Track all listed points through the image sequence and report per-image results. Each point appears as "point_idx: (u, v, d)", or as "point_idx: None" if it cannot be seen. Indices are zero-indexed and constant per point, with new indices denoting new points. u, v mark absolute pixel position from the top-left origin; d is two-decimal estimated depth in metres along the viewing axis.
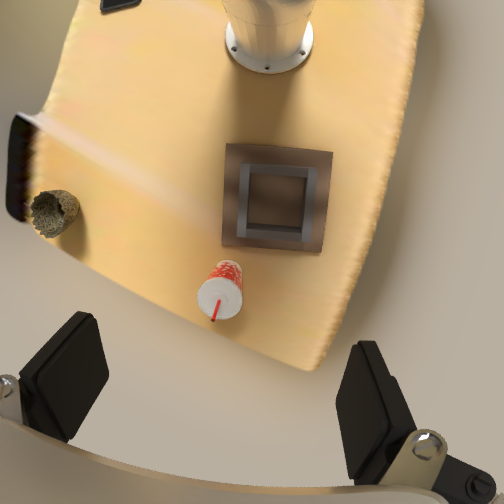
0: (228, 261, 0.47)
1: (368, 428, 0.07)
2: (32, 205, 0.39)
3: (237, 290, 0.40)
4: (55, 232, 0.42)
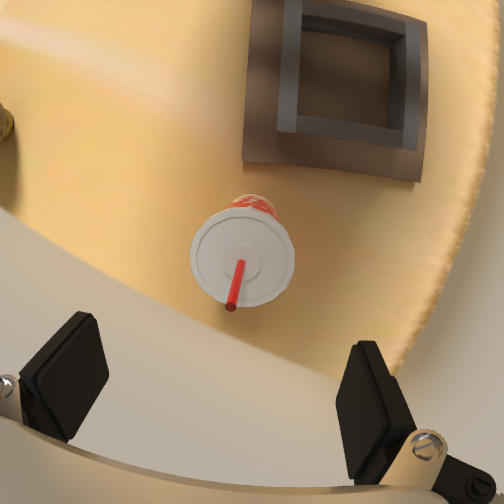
0: (253, 195, 0.24)
1: (368, 428, 0.07)
2: None
3: (285, 236, 0.17)
4: None
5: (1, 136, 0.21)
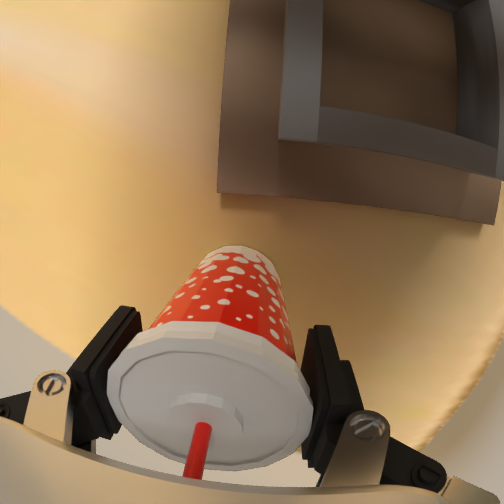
0: (237, 251, 0.14)
1: (314, 407, 0.08)
2: None
3: (295, 388, 0.07)
4: None
5: None
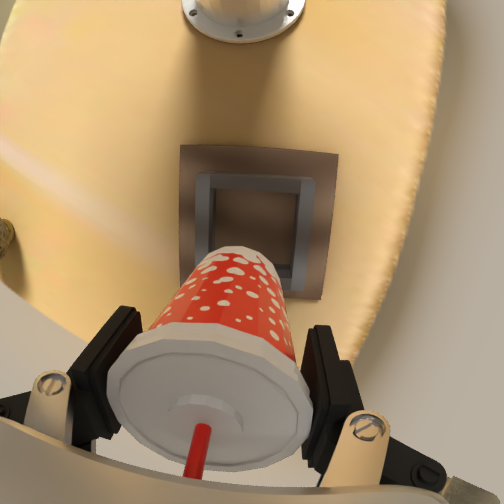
0: (237, 252, 0.14)
1: (314, 407, 0.08)
2: None
3: (295, 390, 0.07)
4: None
5: (7, 247, 0.31)
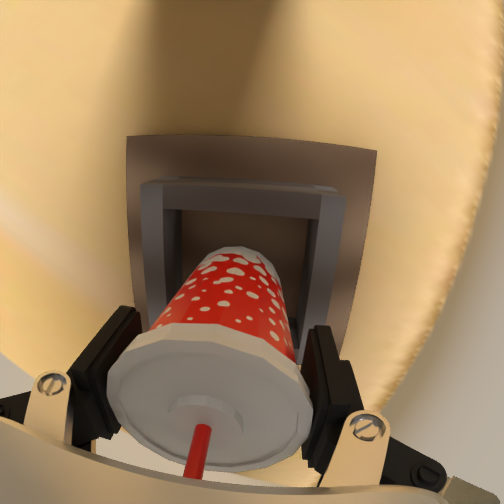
0: (237, 252, 0.14)
1: (314, 407, 0.08)
2: None
3: (295, 390, 0.07)
4: None
5: None
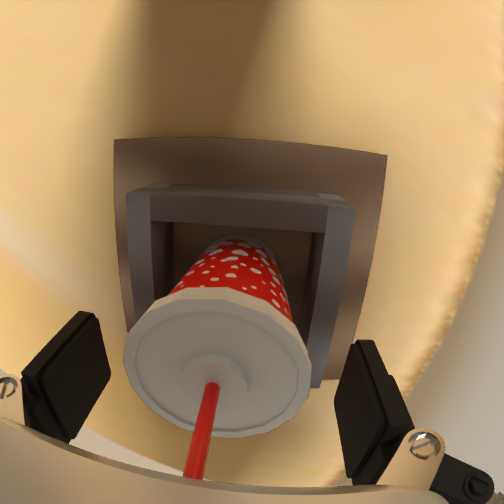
0: (240, 238, 0.16)
1: (366, 427, 0.07)
2: None
3: (295, 347, 0.08)
4: None
5: None
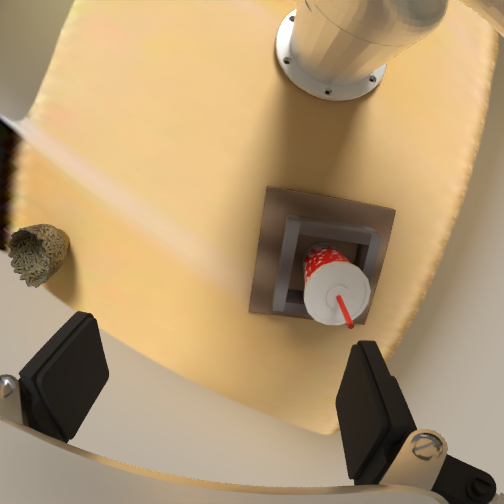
0: (328, 244, 0.33)
1: (368, 428, 0.07)
2: (9, 242, 0.29)
3: (367, 282, 0.26)
4: (39, 278, 0.32)
5: (64, 259, 0.35)
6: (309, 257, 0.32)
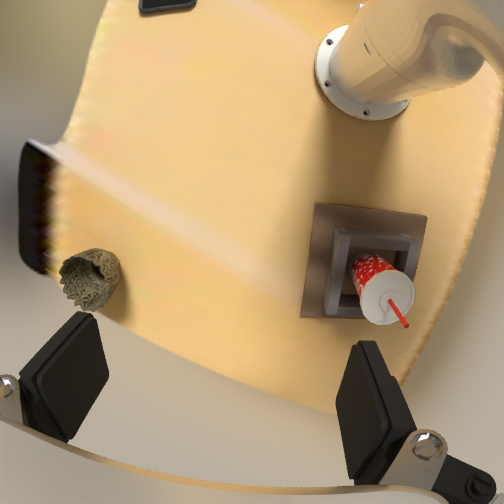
0: (372, 252, 0.36)
1: (368, 428, 0.07)
2: (61, 270, 0.33)
3: (412, 286, 0.29)
4: (94, 302, 0.36)
5: None
6: (358, 265, 0.34)
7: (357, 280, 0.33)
